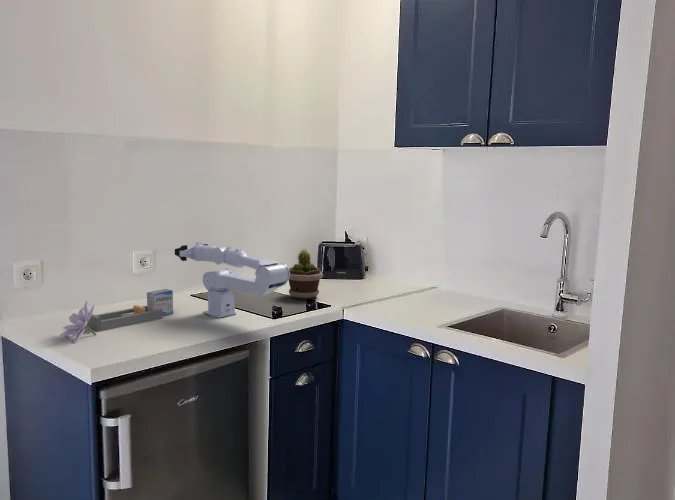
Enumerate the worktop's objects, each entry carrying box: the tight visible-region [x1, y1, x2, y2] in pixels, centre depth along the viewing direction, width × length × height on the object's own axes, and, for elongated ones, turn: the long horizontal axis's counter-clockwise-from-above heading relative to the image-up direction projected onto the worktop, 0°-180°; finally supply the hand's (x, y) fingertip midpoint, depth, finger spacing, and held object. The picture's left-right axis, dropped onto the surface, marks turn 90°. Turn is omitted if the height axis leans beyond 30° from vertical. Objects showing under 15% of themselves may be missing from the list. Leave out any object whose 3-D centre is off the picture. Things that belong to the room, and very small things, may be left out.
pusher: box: [121, 304, 146, 317], centre depth 201 cm, size 6×7×4 cm
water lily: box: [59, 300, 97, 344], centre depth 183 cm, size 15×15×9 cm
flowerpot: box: [288, 249, 324, 301], centre depth 240 cm, size 14×15×20 cm
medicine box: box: [146, 288, 174, 317], centre depth 209 cm, size 8×4×9 cm, turn 143°
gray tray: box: [87, 305, 163, 332], centre depth 200 cm, size 9×23×4 cm, turn 138°
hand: (184, 251), depth 223 cm, fingers open, 7 cm apart
